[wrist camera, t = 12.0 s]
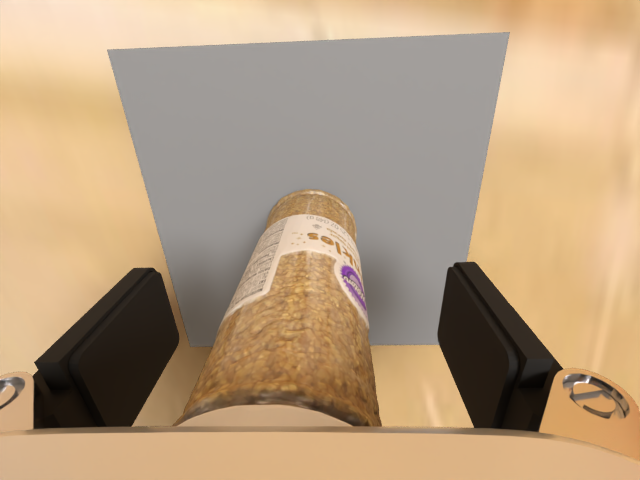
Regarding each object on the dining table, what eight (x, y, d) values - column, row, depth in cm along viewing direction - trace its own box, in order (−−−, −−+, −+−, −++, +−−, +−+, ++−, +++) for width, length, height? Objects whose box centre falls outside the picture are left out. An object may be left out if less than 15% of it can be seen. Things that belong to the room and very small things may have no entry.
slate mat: (445, 332, 20) (450, 344, 20) (196, 335, 21) (190, 346, 20) (497, 35, 13) (509, 32, 13) (121, 51, 14) (107, 49, 13)
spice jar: (374, 228, 16) (501, 653, 4) (312, 282, 18) (274, 705, 6) (308, 165, 15) (215, 517, 3) (247, 229, 16) (20, 634, 4)
